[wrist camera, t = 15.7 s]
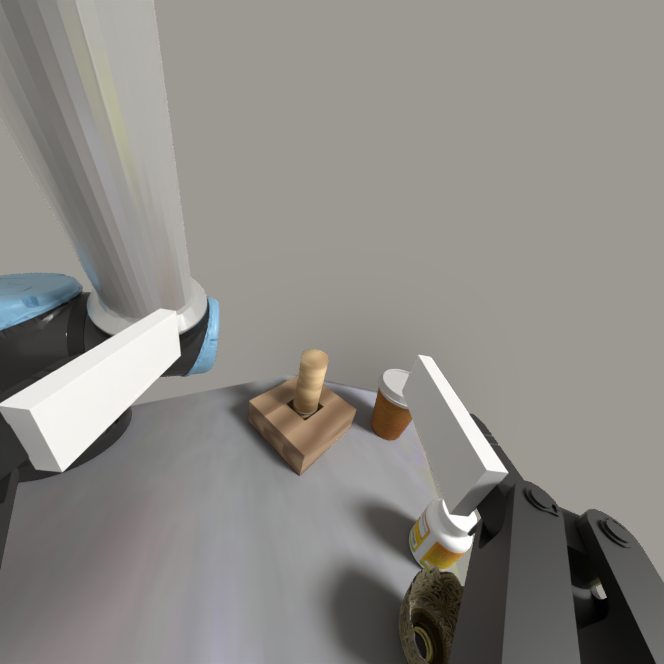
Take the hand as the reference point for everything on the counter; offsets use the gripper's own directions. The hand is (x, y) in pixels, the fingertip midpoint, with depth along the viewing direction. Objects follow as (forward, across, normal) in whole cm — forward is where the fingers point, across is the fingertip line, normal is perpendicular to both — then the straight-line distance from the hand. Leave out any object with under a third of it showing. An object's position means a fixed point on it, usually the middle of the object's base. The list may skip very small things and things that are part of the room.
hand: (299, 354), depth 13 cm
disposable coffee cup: (+23, +20, -30) cm, 43 cm away
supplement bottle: (+4, +21, -30) cm, 37 cm away
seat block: (+21, +2, -30) cm, 37 cm away
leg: (+21, +2, -30) cm, 37 cm away
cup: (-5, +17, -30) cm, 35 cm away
